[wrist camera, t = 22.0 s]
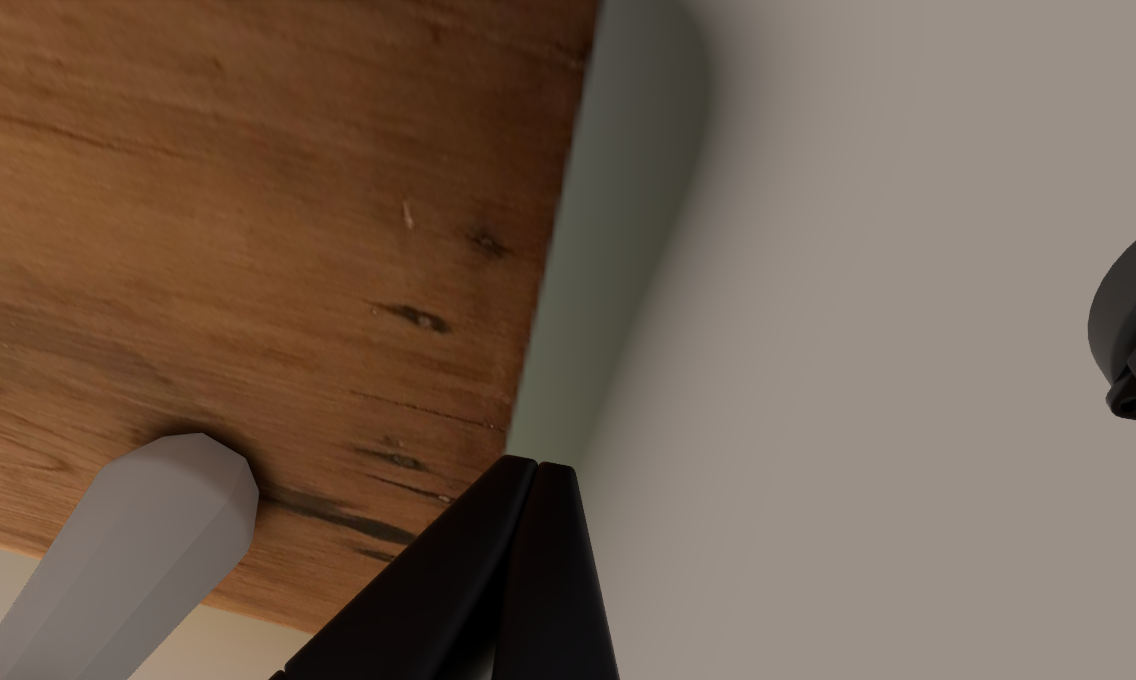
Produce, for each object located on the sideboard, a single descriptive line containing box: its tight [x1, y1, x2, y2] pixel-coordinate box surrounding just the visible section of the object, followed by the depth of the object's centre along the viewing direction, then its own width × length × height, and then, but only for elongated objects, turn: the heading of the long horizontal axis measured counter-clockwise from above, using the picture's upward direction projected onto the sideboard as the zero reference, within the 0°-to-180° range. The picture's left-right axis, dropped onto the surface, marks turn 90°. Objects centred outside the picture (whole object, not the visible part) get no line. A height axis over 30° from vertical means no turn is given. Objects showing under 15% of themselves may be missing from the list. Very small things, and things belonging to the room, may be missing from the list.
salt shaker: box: [0, 433, 259, 680], centre depth 24 cm, size 6×6×13 cm
